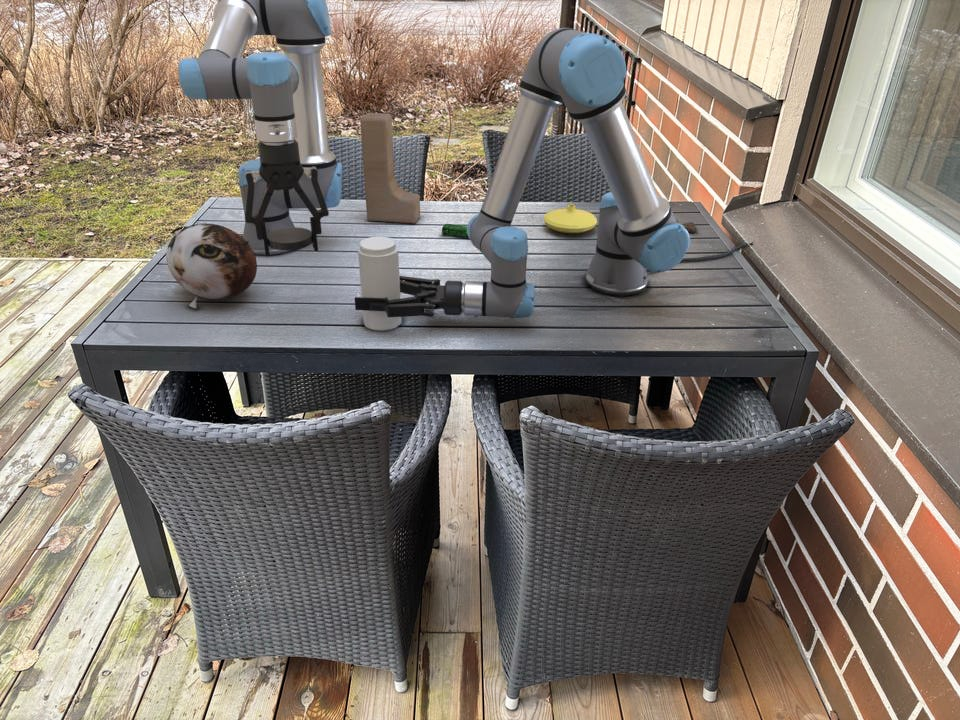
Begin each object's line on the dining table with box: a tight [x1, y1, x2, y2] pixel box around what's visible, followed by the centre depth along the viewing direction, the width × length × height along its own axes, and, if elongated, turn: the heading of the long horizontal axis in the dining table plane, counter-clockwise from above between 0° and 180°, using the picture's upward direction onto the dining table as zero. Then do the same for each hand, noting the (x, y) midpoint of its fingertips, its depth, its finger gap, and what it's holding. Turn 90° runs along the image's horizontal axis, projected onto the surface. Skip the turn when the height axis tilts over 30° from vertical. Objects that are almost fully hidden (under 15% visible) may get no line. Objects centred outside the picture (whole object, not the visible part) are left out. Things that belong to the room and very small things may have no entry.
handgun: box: [441, 223, 469, 238], centre depth 207 cm, size 16×3×15 cm
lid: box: [267, 226, 313, 251], centre depth 147 cm, size 9×9×2 cm
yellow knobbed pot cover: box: [543, 203, 598, 234], centre depth 209 cm, size 16×16×7 cm
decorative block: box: [359, 112, 421, 224], centre depth 209 cm, size 8×15×30 cm, turn 82°
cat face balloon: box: [165, 222, 258, 309], centre depth 165 cm, size 22×18×20 cm
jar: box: [357, 236, 403, 331], centre depth 155 cm, size 8×8×19 cm
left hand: (291, 251), depth 148 cm, fingers closed on lid, 9 cm apart
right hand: (359, 294), depth 156 cm, fingers closed on jar, 8 cm apart
